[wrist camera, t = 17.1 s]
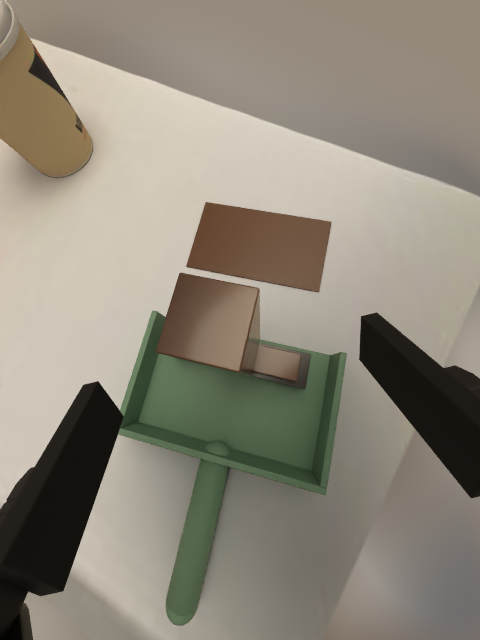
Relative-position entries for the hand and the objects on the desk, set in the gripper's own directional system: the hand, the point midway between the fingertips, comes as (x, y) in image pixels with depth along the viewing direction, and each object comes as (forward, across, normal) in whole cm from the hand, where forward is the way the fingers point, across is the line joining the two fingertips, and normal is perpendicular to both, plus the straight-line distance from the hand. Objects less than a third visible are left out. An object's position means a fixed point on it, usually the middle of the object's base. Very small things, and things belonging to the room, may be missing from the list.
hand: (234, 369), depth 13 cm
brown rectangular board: (+17, +4, +1) cm, 18 cm away
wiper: (+9, 0, -7) cm, 11 cm away
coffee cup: (+31, -16, +14) cm, 38 cm away
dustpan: (+4, -4, -12) cm, 14 cm away
